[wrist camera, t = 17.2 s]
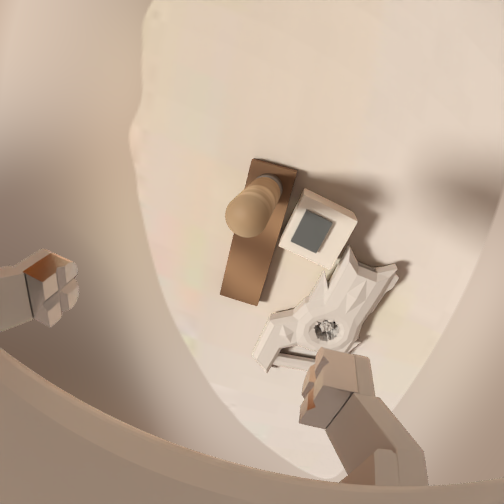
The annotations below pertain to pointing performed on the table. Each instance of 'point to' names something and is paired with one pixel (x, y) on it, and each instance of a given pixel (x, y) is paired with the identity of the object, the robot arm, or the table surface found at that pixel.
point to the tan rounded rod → (254, 206)
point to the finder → (318, 229)
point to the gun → (326, 314)
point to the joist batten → (256, 242)
